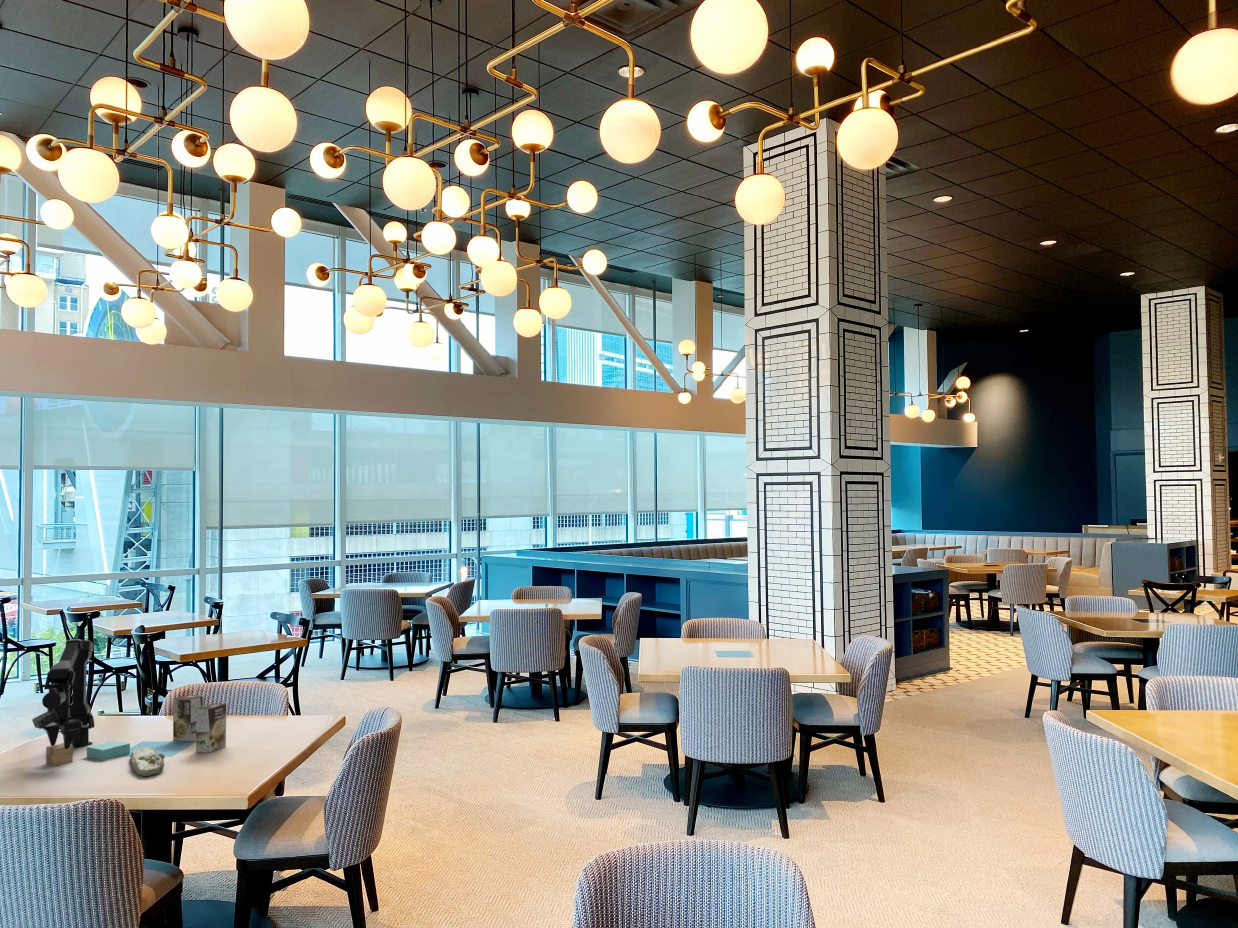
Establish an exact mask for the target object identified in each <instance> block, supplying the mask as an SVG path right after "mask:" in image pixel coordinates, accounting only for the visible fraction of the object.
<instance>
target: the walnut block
mask: <svg viewBox="0 0 1238 928" xmlns="http://www.w3.org/2000/svg"><path fill="white" fill-rule="evenodd" d="M69 762H70V763H73V762H74V747H73V745H70V747H69V748H68V749H65V747H64V742H63V743H59V744H57V743H56V744H55V745H53V746H51V745H48V746H46V748H45V765H49V764H50V765H49V766H53V765H54V766H53V767H57V765H58V766H61V764H62V765H64V764H65V763H66V764H69ZM66 764H65V765H66Z"/></svg>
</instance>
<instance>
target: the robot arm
mask: <svg viewBox="0 0 1238 928" xmlns="http://www.w3.org/2000/svg"><path fill="white" fill-rule="evenodd" d="M94 645H95V644H94V642H92V641H91V640H89V639H87V640H84V639H80V638H76V639H75V638H73V639H72V638H71V639H68V640H65V647H64V650H63V652H62V654H61V655H60V659H59V660H58V662H57V663H55V664H53V665H52V666H51V668H50V670H49V671H48V672H47V675H46V679H45V684H44V689H43V690H48V693H46V694H45V695H44V696H43V697H42V700H41V703H42V706H43V707H44V708H45V709H47V711H45V712H44V713H42V714H39V715H37V716H35V717H33V718H32V720H31V721H32V724H33V727H34V728H35V729H39V730H43V731H45V732H46V735H47V737H48V742H49V744H50V746H53V745H56V744H57V740H58V737H59V736H58V735H59V733H60V734H61V735H62V738H63V743H64V747H65V749H68V748H69V747H70V745H73V748H79V747H84V746H87V745H92V744H93V741H90V738H89V737H90V735H89V733H90V732H89V731H90V729H91V730H92V729H94V728H95V719H94V716H93V715H94V714H93V713H92V712H91V706H90V705H89V703H88V702H87V666H88V662H89V660H90V659H91V657H92V653H93V652H94ZM71 687H72V688H71ZM71 689H72V690H71ZM71 693H72V694H71ZM70 694H71V695H72V696H71V695H70ZM70 696H71V697H70ZM70 699H71V700H70ZM70 701H71V702H70ZM70 703H71V704H70Z"/></svg>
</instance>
